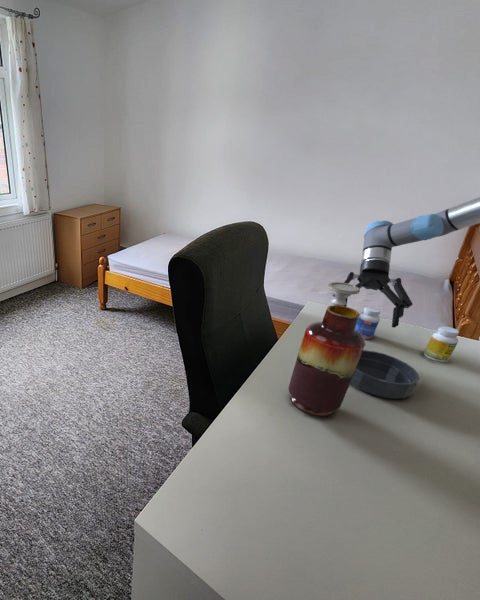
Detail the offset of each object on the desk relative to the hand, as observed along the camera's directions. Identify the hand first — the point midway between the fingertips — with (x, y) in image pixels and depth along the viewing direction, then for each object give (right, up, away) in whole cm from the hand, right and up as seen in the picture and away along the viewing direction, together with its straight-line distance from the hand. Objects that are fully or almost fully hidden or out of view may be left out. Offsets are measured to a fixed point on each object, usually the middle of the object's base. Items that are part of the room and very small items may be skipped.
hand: (368, 321), depth 110 cm
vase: (-36, -19, -26) cm, 48 cm away
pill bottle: (+1, -5, +3) cm, 6 cm away
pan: (-14, -15, -18) cm, 27 cm away
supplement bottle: (+12, -10, -9) cm, 18 cm away
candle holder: (-16, -8, -2) cm, 17 cm away
